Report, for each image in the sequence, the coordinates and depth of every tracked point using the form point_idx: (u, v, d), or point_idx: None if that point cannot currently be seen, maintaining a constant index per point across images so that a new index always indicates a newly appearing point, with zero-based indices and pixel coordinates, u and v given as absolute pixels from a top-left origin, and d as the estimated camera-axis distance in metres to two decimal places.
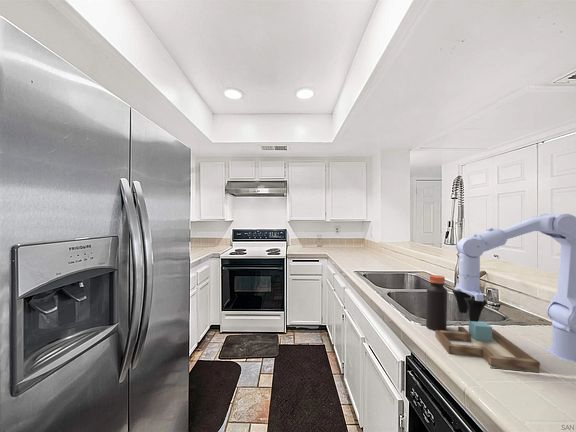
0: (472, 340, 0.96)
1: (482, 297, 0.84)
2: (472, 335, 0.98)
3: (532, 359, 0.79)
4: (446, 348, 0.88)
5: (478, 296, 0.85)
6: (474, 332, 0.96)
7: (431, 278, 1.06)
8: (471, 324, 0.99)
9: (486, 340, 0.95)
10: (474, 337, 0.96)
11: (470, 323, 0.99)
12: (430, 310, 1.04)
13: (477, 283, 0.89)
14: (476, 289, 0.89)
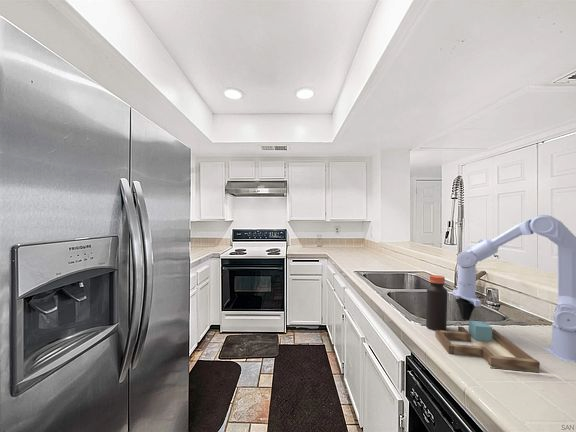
0: (472, 340, 0.96)
1: (480, 303, 0.99)
2: (472, 335, 0.98)
3: (532, 359, 0.79)
4: (446, 348, 0.88)
5: (477, 302, 0.99)
6: (474, 332, 0.96)
7: (431, 278, 1.06)
8: (471, 324, 0.99)
9: (486, 340, 0.95)
10: (474, 337, 0.96)
11: (470, 323, 0.99)
12: (430, 310, 1.04)
13: (474, 290, 1.03)
14: (473, 296, 1.03)
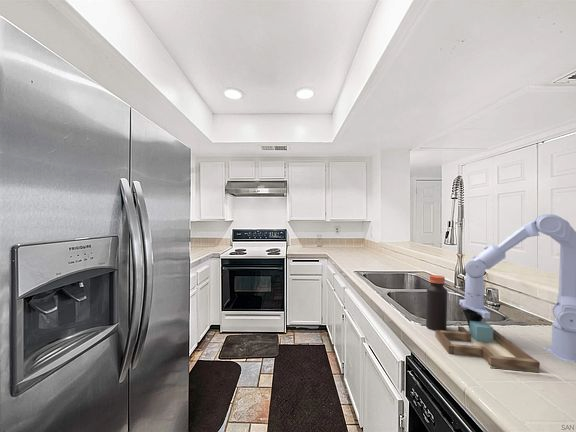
0: (472, 340, 0.96)
1: (489, 315, 0.94)
2: (473, 335, 0.97)
3: (532, 359, 0.79)
4: (446, 348, 0.88)
5: (486, 314, 0.94)
6: (475, 333, 0.96)
7: (431, 278, 1.06)
8: (472, 324, 0.98)
9: (487, 340, 0.95)
10: (475, 337, 0.96)
11: (471, 323, 0.99)
12: (430, 310, 1.04)
13: (482, 301, 0.99)
14: (482, 307, 0.99)
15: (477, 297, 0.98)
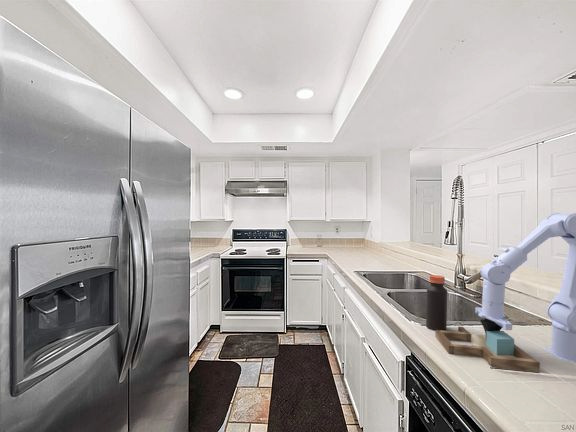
0: (472, 340, 0.96)
1: (511, 326, 0.84)
2: (491, 348, 0.88)
3: (532, 359, 0.79)
4: (446, 348, 0.88)
5: (507, 325, 0.84)
6: (495, 346, 0.86)
7: (431, 278, 1.06)
8: (490, 336, 0.89)
9: (508, 353, 0.86)
10: (495, 351, 0.87)
11: (488, 334, 0.90)
12: (430, 310, 1.04)
13: (502, 310, 0.89)
14: (502, 316, 0.89)
15: (497, 306, 0.88)
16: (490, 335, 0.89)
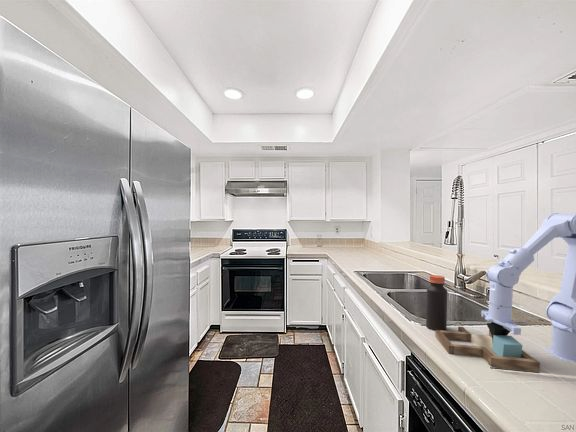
0: (472, 340, 0.96)
1: (519, 330, 0.81)
2: (498, 353, 0.85)
3: (532, 359, 0.79)
4: (446, 348, 0.88)
5: (515, 329, 0.81)
6: (502, 351, 0.83)
7: (431, 278, 1.06)
8: (497, 340, 0.85)
9: None
10: None
11: (495, 338, 0.86)
12: (430, 310, 1.04)
13: (510, 314, 0.85)
14: (509, 320, 0.85)
15: (504, 309, 0.85)
16: (497, 339, 0.85)
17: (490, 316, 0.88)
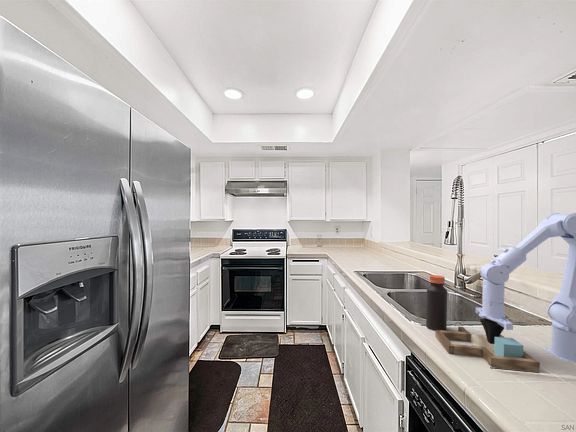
0: (472, 340, 0.96)
1: (511, 326, 0.84)
2: (499, 354, 0.85)
3: (532, 359, 0.79)
4: (446, 348, 0.88)
5: (508, 325, 0.84)
6: (502, 351, 0.83)
7: (431, 278, 1.06)
8: (498, 341, 0.85)
9: None
10: None
11: (496, 340, 0.86)
12: (430, 310, 1.04)
13: (502, 310, 0.89)
14: (502, 316, 0.89)
15: (497, 306, 0.89)
16: (498, 341, 0.85)
17: (484, 313, 0.92)
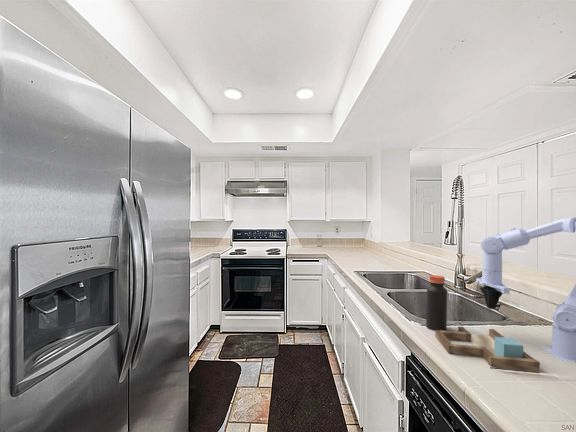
0: (472, 340, 0.96)
1: (508, 290, 0.94)
2: (499, 354, 0.85)
3: (532, 359, 0.79)
4: (446, 348, 0.88)
5: (505, 289, 0.94)
6: (502, 351, 0.83)
7: (431, 278, 1.06)
8: (498, 341, 0.85)
9: None
10: None
11: (496, 340, 0.86)
12: (430, 310, 1.04)
13: (500, 277, 0.98)
14: (500, 283, 0.98)
15: (495, 273, 0.98)
16: (498, 341, 0.85)
17: (483, 281, 1.01)
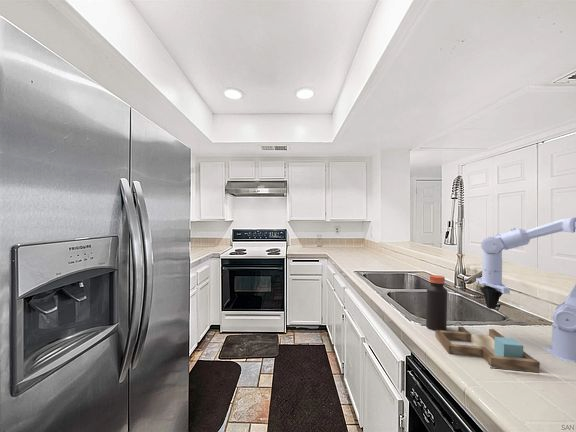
0: (472, 340, 0.96)
1: (508, 290, 0.94)
2: (499, 354, 0.85)
3: (532, 359, 0.79)
4: (446, 348, 0.88)
5: (505, 289, 0.94)
6: (502, 351, 0.83)
7: (431, 278, 1.06)
8: (498, 341, 0.85)
9: None
10: None
11: (496, 340, 0.86)
12: (430, 310, 1.04)
13: (500, 277, 0.98)
14: (500, 283, 0.98)
15: (495, 273, 0.98)
16: (498, 341, 0.85)
17: (483, 281, 1.01)
